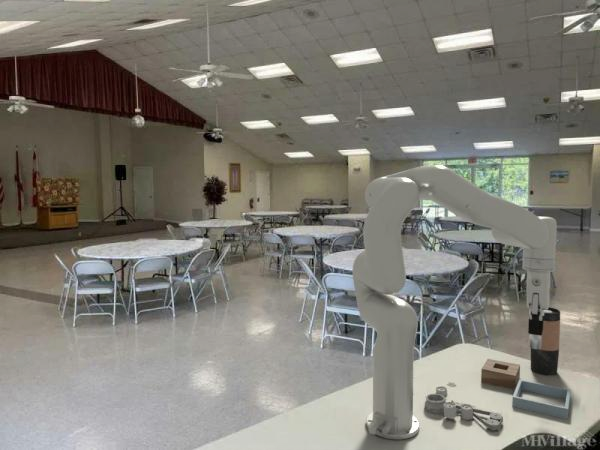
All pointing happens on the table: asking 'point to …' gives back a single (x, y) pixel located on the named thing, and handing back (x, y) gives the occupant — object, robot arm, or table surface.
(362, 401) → the table surface
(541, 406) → the pin tray
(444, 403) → the pulley system
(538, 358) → the travel mug
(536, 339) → the lock pin
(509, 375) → the block
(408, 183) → the robot arm
